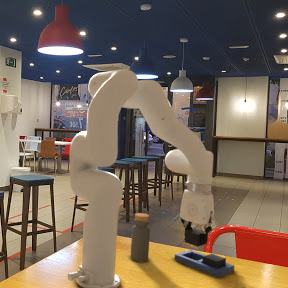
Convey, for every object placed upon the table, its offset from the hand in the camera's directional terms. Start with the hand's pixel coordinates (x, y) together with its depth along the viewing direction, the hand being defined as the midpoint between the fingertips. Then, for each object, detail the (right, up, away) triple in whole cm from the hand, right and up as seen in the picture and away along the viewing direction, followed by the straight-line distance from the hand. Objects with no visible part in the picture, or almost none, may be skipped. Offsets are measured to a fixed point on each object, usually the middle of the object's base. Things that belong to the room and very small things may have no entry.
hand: (195, 241), depth 125 cm
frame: (+2, -7, -3) cm, 8 cm away
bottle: (-19, -6, +1) cm, 20 cm away
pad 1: (0, -1, 0) cm, 1 cm away
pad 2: (+4, -8, -5) cm, 10 cm away
